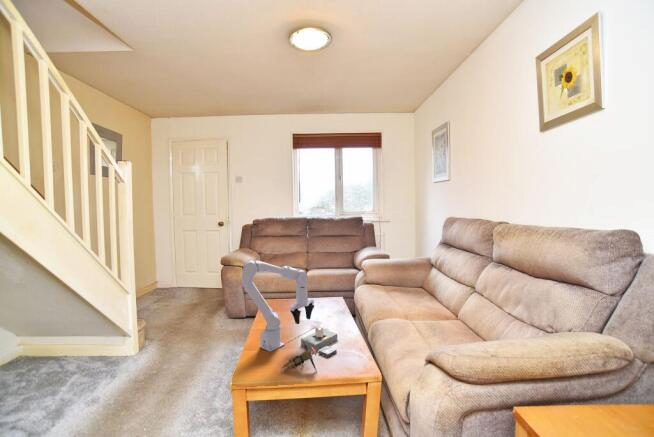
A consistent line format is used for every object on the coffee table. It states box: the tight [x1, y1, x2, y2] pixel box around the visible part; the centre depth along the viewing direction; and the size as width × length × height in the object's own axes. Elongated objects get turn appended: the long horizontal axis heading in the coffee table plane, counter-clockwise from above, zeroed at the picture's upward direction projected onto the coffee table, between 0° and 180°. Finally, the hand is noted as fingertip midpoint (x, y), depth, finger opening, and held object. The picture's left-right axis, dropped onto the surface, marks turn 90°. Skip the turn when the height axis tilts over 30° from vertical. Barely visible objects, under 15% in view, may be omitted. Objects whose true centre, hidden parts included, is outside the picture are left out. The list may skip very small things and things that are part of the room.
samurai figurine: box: [274, 326, 318, 373], centre depth 126 cm, size 16×10×20 cm
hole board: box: [300, 328, 338, 352], centre depth 150 cm, size 16×10×3 cm, turn 139°
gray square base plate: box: [317, 345, 338, 358], centre depth 139 cm, size 6×6×2 cm
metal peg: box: [314, 326, 324, 340], centre depth 150 cm, size 4×4×7 cm
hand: (302, 321), depth 151 cm, fingers open, 7 cm apart
